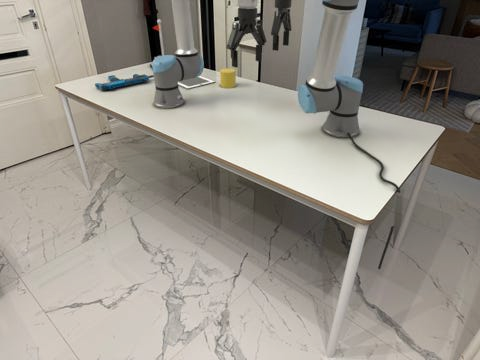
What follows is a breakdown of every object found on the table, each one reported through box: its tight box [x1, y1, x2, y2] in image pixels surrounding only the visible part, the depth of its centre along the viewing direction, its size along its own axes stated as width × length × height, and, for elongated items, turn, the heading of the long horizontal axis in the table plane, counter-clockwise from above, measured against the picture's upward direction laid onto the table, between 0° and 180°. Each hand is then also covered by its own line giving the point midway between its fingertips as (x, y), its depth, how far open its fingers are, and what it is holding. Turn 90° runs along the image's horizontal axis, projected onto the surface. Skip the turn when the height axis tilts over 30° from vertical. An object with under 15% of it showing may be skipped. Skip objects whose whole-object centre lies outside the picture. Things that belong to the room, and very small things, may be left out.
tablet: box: [178, 75, 216, 90], centre depth 213 cm, size 32×20×1 cm, turn 41°
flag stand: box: [152, 18, 166, 60], centre depth 234 cm, size 13×13×30 cm
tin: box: [219, 68, 237, 89], centre depth 201 cm, size 9×9×9 cm
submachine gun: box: [94, 73, 154, 91], centre depth 208 cm, size 34×4×25 cm
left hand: (246, 64), depth 142 cm, fingers open, 13 cm apart
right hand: (280, 47), depth 163 cm, fingers open, 13 cm apart
